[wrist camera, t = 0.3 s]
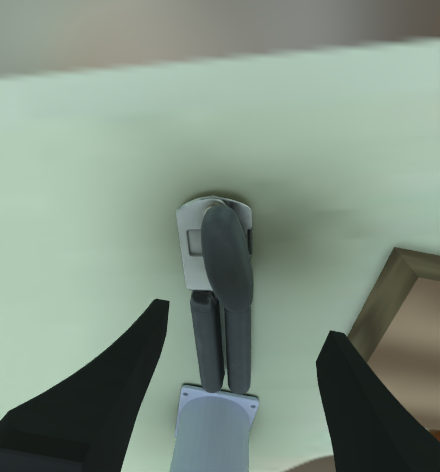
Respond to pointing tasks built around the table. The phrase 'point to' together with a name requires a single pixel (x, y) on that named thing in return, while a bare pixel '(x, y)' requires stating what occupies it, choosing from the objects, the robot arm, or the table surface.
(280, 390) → the table surface
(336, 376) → the robot arm
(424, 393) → the walnut block
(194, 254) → the can opener
